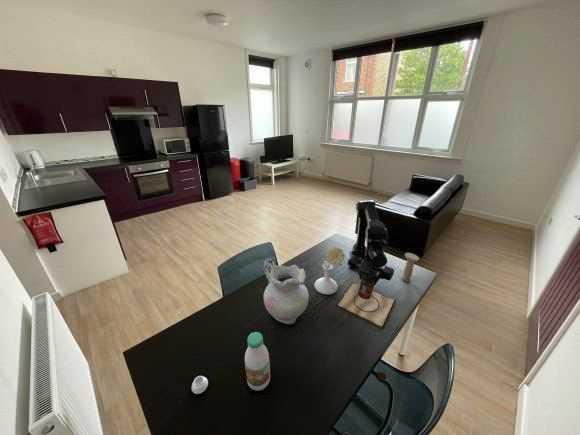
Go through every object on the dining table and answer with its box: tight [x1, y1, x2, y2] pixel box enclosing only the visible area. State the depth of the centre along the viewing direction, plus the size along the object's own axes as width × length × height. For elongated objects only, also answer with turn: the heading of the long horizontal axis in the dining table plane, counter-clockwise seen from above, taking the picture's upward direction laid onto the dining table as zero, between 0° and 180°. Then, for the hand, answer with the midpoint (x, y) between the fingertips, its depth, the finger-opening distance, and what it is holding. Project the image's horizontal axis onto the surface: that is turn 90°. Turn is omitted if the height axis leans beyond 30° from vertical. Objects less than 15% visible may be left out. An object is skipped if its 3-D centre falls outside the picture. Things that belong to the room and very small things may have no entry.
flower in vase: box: [314, 246, 345, 295], centre depth 113 cm, size 13×11×25 cm
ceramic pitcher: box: [263, 257, 310, 325], centre depth 101 cm, size 22×20×25 cm
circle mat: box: [337, 282, 395, 328], centre depth 110 cm, size 20×18×1 cm
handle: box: [402, 252, 420, 283], centre depth 121 cm, size 5×6×15 cm
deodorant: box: [358, 272, 378, 299], centre depth 107 cm, size 6×6×15 cm
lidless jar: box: [191, 375, 209, 395], centre depth 77 cm, size 5×3×5 cm
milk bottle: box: [244, 331, 271, 391], centre depth 76 cm, size 8×8×20 cm
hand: (367, 282), depth 107 cm, fingers closed on deodorant, 6 cm apart
